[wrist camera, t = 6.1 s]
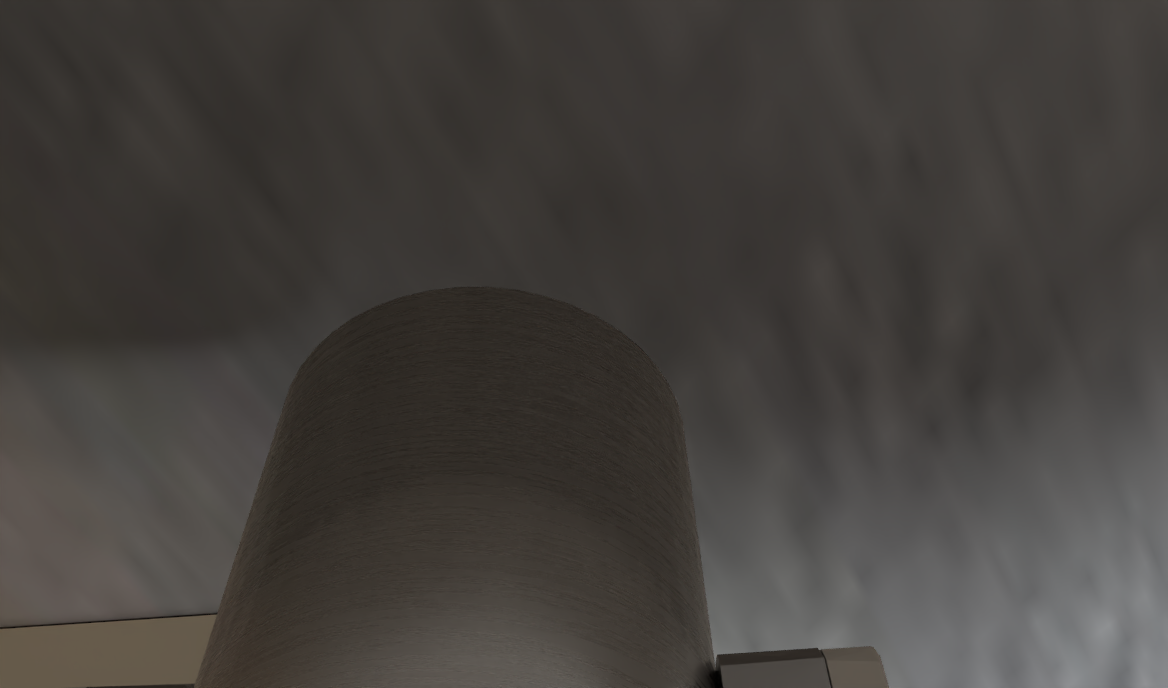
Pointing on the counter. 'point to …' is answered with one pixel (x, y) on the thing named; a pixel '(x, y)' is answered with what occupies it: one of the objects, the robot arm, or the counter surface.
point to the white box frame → (105, 653)
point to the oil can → (470, 511)
